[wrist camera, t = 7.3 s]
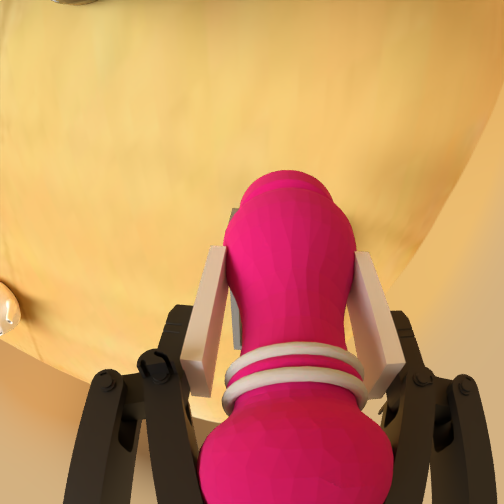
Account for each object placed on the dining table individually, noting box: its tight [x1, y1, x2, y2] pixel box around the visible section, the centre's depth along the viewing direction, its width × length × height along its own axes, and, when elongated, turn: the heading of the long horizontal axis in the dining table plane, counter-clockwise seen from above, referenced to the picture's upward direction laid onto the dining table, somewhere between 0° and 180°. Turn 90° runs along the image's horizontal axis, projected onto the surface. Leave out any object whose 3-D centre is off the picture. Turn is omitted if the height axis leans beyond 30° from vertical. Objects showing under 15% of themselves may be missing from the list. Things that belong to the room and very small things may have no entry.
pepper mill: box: [197, 170, 393, 504], centre depth 12 cm, size 7×7×20 cm
